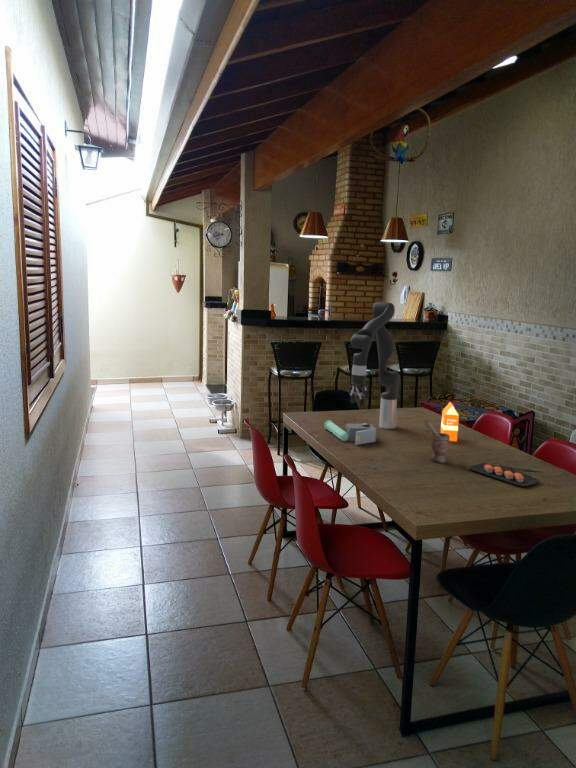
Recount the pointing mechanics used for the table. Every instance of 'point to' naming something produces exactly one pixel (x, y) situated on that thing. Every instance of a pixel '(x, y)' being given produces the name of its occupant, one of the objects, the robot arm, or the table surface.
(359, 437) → the side door
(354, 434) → the camera case
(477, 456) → the table surface
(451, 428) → the orange juice
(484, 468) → the sushi plate
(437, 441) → the mortar and pestle
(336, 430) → the mint green bar
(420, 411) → the table surface
